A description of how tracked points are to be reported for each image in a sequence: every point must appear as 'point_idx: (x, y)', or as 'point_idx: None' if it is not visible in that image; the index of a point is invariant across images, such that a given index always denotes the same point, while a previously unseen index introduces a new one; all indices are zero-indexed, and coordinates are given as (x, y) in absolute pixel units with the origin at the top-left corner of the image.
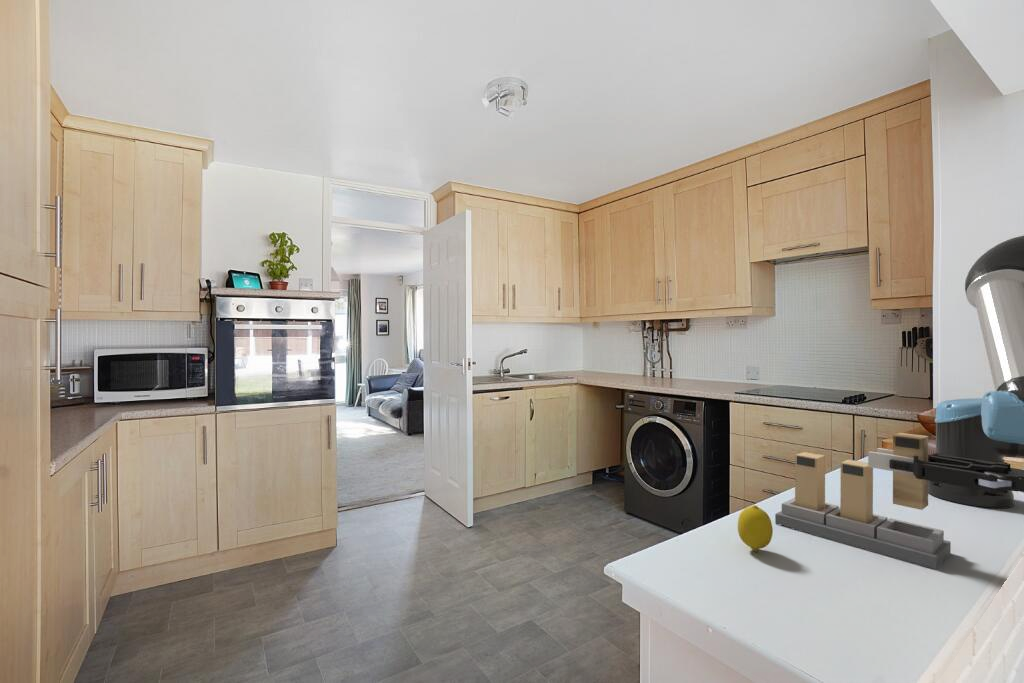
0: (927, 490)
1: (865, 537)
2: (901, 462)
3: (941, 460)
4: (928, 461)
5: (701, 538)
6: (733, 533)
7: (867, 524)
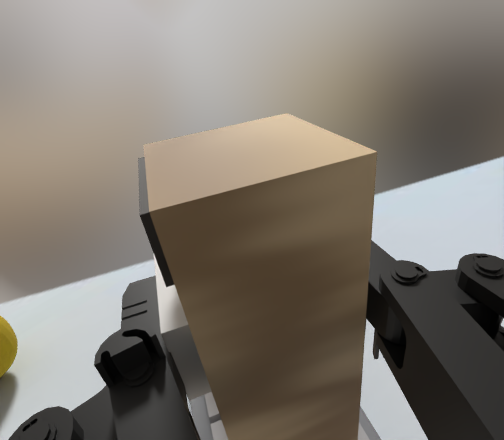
0: (346, 432)
1: (200, 422)
2: (121, 327)
3: (430, 364)
4: (386, 313)
5: (3, 316)
6: (67, 310)
7: (212, 396)
